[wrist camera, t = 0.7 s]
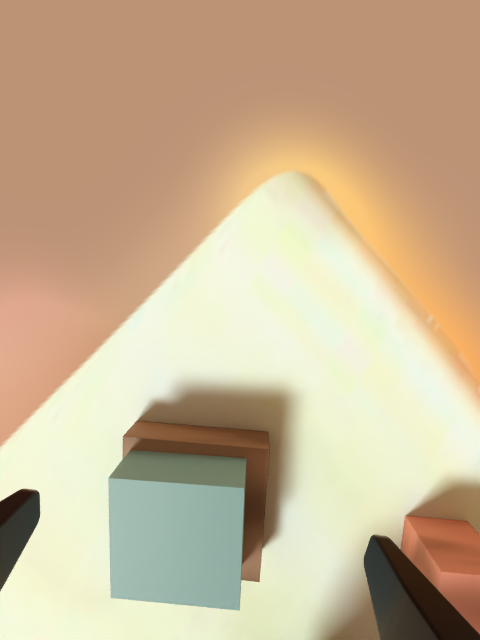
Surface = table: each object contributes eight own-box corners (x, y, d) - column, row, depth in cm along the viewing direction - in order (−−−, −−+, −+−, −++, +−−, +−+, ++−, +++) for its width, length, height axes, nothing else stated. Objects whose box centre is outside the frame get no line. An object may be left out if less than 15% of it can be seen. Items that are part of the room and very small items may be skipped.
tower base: (259, 545, 24) (259, 581, 21) (137, 532, 25) (121, 566, 22) (267, 427, 23) (269, 449, 20) (139, 417, 24) (122, 436, 21)
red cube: (457, 573, 23) (505, 643, 19) (397, 567, 23) (431, 635, 19) (466, 520, 22) (518, 579, 18) (404, 515, 23) (441, 571, 18)
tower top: (242, 564, 21) (239, 610, 18) (131, 554, 22) (110, 597, 19) (246, 458, 20) (244, 488, 17) (130, 450, 21) (108, 478, 18)
